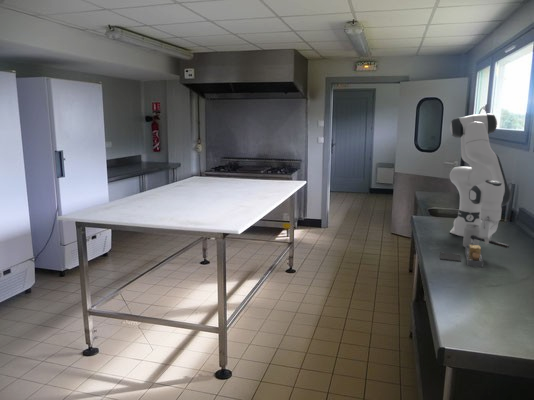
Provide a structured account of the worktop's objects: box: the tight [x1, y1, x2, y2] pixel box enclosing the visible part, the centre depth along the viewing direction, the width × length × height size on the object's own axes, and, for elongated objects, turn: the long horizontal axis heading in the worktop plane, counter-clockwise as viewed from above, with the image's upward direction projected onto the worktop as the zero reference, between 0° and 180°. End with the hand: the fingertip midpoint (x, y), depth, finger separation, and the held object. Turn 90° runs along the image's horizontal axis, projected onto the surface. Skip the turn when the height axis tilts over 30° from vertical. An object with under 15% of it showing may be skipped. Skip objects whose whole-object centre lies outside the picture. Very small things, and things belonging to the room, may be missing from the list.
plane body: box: [464, 239, 484, 269], centre depth 197 cm, size 24×6×7 cm, turn 158°
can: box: [462, 224, 480, 248], centre depth 215 cm, size 8×8×12 cm
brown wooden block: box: [469, 244, 482, 257], centre depth 195 cm, size 6×4×4 cm
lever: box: [470, 235, 510, 249], centre depth 199 cm, size 19×2×1 cm, turn 27°
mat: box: [439, 252, 462, 263], centre depth 200 cm, size 10×9×1 cm
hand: (487, 243), depth 197 cm, fingers closed
